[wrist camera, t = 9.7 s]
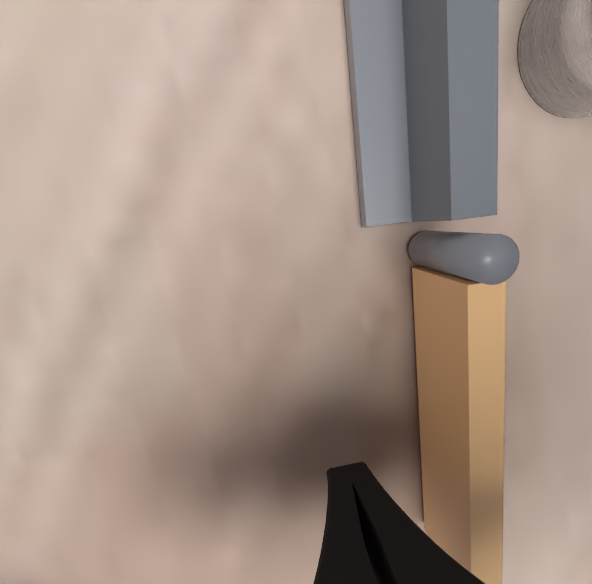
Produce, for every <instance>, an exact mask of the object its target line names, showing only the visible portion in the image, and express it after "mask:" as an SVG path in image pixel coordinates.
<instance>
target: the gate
mask: <svg viewBox="0 0 592 584" xmlns="http://www.w3.org/2000/svg"><path fill="white" fill-rule="evenodd" d="M408 252H409V256H410V258H411V260H412V261H413V262H414V263H415V264H417V265H420V266H422V267H414V268H412V277H413V298H414V319H415V340H416V361H417V382H418V403H419V424H420V445H421V466H422V487H423V507H424V528H425V530H426V532H427V534H428V536H429V538H431V539H432V540H433V541H434V542H435V543H436V544H437V545H438V546H439V547H440V548H442V549H443V550H444V551H445V552H446V553H447V554H448V555H450V556H451V557H452V558H453V559H454V560H456V561H457V562H458V563H459V564H460V565H462V566H463V567H464V568H465V569H467V570H468V571H469V572H471V573H472V574H473V575H475V576H476V577H477V578H479V579H480V580H481V581H483V582H484V583H485V584H502V556H503V481H504V407H505V332H506V280H507V279H509V278H510V277H511V276H512V275H513V273H514V272H515V270H516V268H517V266H518V263H519V250H518V247H517V245H516V243H515V242H514V241H513V240H512V239H511V238H510V237H508V236H506V235H502V234H483V233H462V232H440V231H422V232H420V233H418V234H416V235H415V236H414V237H413V238H412V240H411V241H410V244H409V248H408Z"/></svg>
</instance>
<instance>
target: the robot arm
mask: <svg viewBox="0 0 592 584" xmlns="http://www.w3.org/2000/svg"><path fill="white" fill-rule="evenodd" d="M327 478H328V504H327V514H326V524H325V530H324V536H323V543H322V549H321V554H320V559H319V563H318V568H317V572H316V576H315V580H314V584H485V583H484V582H483V581H481V580H480V579H479V578H477V577H476V576H475V575H473V574H472V573H471V572H469V571H468V570H467V569H465V568H464V567H463V566H462V565H460V564H459V563H458V562H457V561H456V560H454V559H453V558H452V557H451V556H450V555H448V554H447V553H446V552H445V551H444V550H443V549H442V548H440V547H439V546H438V545H437V544H436V543H435V542H434V541H433V540H432V539H431V538H429V537H428V536H427V535H426V534H425V533H424V532H423V531H422V530H421V529H420V528H419V527H418V526H417V525H416V524H415V523H414V522H413V521H412V520H411V519H410V518H409V517H408V516H407V515H406V513H405V512H404V511H403V510H402V509H401V508H400V507H399V506H398V505H397V504H396V502H395V501H394V500H393V499H392V498H391V497H390V496H389V494H388V493H387V492H386V491H385V490H384V488H383V487H382V486H381V485H380V483H379V482H378V481H377V479H376V478H375V477H374V475H373V474H372V473H371V471H370V470H369V468H368V467H367V465H366V464H365V463H364V462H359V463H354V464H349V465H344V466H340V467H335V468H330V469H329V470H328V471H327Z"/></svg>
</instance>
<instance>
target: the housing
mask: <svg viewBox="0 0 592 584" xmlns="http://www.w3.org/2000/svg"><path fill="white" fill-rule="evenodd" d="M344 10H345V23H346V35H347V48H348V61H349V74H350V86H351V99H352V112H353V125H354V137H355V150H356V163H357V176H358V188H359V201H360V214H361V227H370V226H378V225H386V224H393V223H401V222H409V221H450V220H459V219H467V218H475V217H483V216H490V215H497V159H498V19H499V0H344Z"/></svg>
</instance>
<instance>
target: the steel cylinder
mask: <svg viewBox="0 0 592 584" xmlns="http://www.w3.org/2000/svg"><path fill="white" fill-rule="evenodd" d="M518 63H519V69H520V73H521V77H522V80H523V82H524V85H525V87H526V89H527V91H528V92H529V94H530V95H531V97H532V98H533V99H534V101H535V102H536V103H537V104H538V105H539V106H540V107H542V108H543V109H545V110H546V111H548V112H550V113H552V114H554V115H557V116H560V117H565V118H581V117H586V116H590V115H592V0H532V2H531V4H530V6H529V7H528V10H527V12H526V14H525V17H524V19H523V22H522V26H521V29H520V34H519V41H518Z"/></svg>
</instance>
